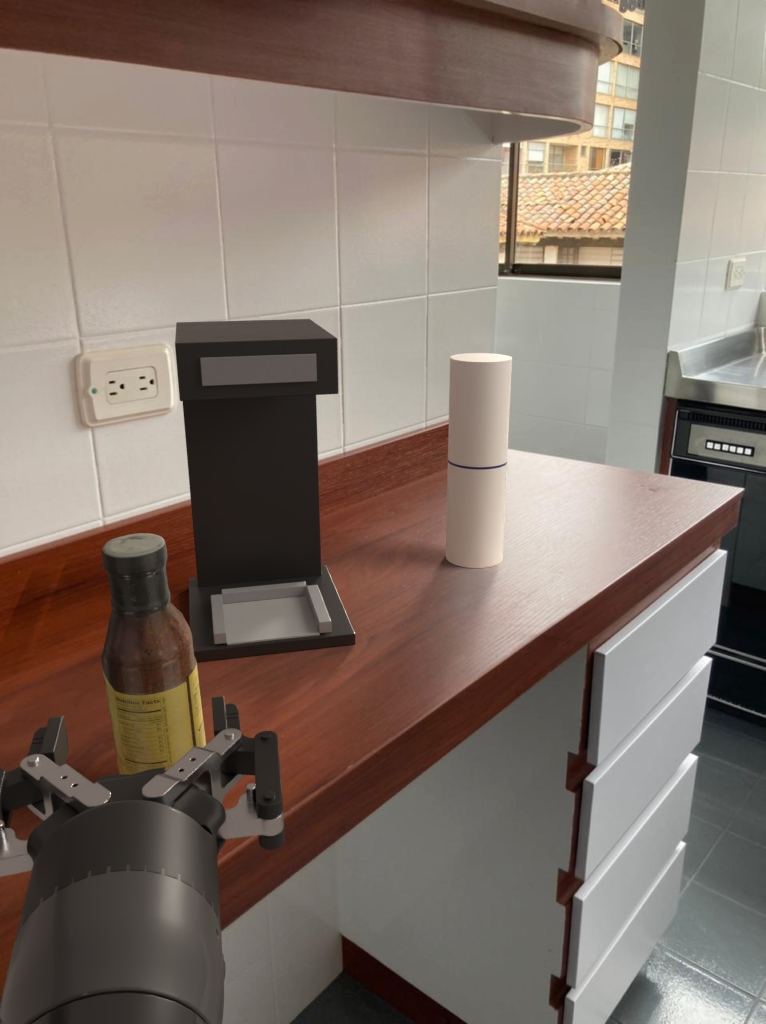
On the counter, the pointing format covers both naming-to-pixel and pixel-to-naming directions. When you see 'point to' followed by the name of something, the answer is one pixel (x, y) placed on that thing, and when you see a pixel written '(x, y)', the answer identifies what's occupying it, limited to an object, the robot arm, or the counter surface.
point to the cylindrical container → (477, 458)
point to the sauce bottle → (148, 660)
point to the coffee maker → (257, 486)
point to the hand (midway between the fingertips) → (140, 720)
